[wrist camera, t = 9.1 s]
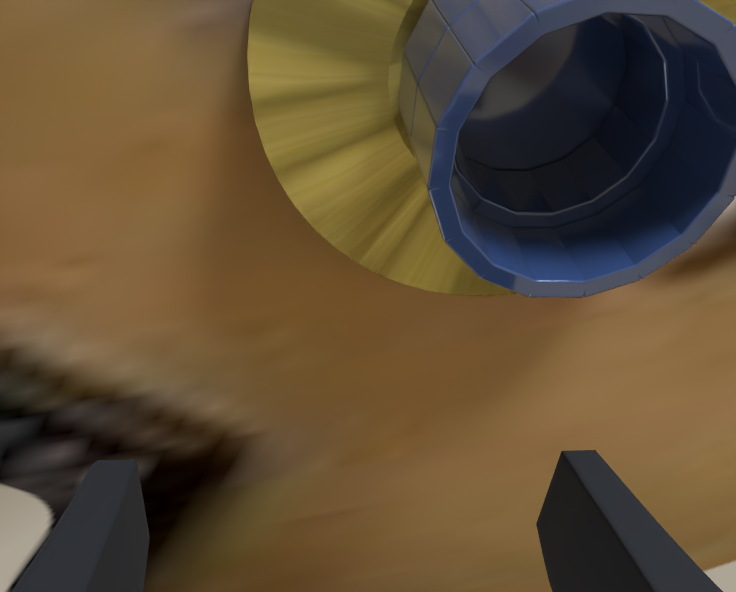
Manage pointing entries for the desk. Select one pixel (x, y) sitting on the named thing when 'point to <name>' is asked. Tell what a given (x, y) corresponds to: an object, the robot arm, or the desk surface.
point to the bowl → (571, 135)
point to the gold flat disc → (354, 133)
